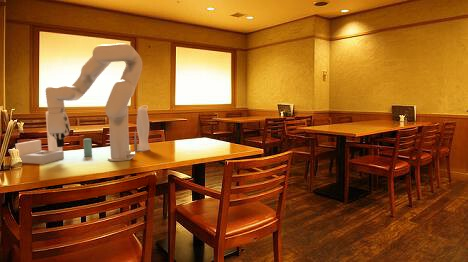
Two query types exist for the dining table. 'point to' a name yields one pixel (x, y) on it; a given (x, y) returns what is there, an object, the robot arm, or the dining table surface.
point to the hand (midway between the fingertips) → (60, 146)
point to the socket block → (42, 156)
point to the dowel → (87, 147)
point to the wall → (28, 147)
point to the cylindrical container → (52, 140)
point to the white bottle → (142, 130)
